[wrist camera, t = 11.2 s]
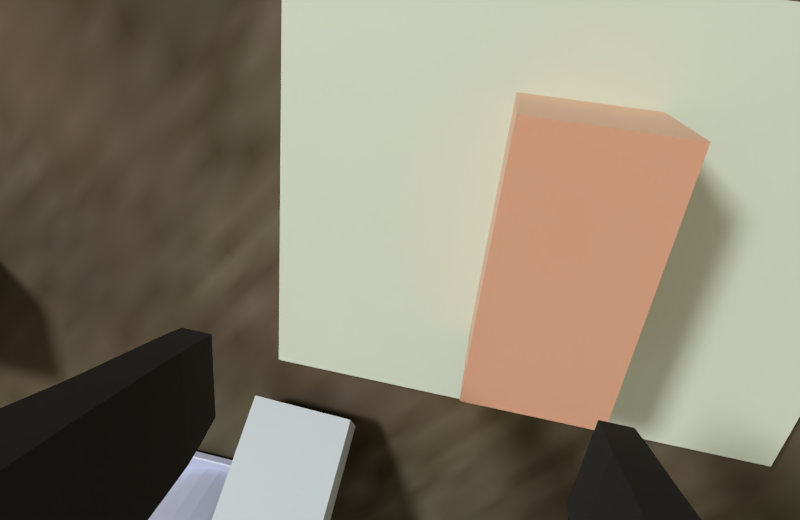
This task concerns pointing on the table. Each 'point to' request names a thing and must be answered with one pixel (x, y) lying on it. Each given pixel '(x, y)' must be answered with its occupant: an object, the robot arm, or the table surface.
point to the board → (479, 176)
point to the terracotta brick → (575, 254)
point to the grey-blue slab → (286, 464)
